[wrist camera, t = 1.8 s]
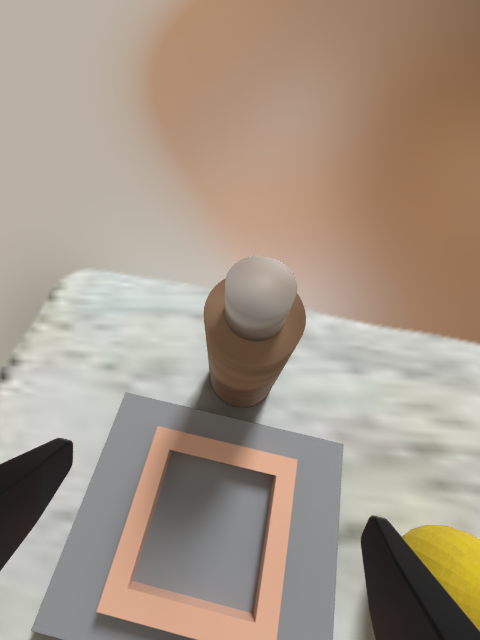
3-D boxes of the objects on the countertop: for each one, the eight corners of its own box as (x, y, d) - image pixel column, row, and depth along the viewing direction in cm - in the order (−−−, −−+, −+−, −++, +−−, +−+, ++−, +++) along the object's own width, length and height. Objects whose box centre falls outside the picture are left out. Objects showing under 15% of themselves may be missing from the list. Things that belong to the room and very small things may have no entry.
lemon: (373, 623, 18) (477, 724, 10) (364, 512, 20) (443, 533, 13) (466, 633, 18) (632, 741, 11) (446, 521, 20) (568, 547, 13)
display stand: (322, 701, 16) (336, 732, 14) (41, 622, 17) (17, 641, 15) (338, 445, 22) (349, 442, 20) (129, 395, 23) (120, 388, 21)
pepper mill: (244, 421, 22) (268, 366, 11) (197, 376, 24) (175, 285, 12) (285, 374, 24) (344, 283, 13) (239, 335, 26) (255, 221, 14)
